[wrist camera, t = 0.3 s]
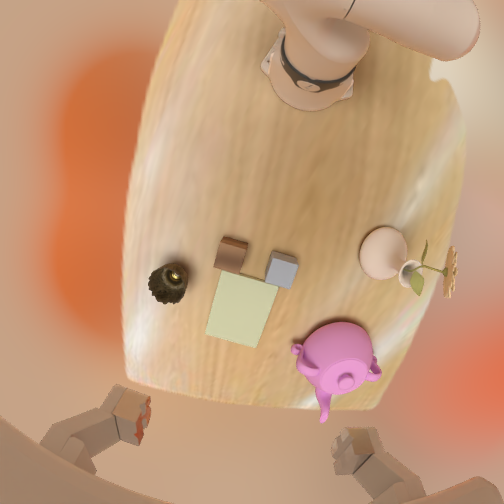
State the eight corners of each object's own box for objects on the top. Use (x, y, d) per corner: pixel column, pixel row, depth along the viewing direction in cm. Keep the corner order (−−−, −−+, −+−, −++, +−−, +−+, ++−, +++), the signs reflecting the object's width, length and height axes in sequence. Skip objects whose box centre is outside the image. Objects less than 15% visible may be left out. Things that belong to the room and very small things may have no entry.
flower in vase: (390, 283, 56) (449, 342, 32) (348, 268, 55) (398, 329, 31) (413, 229, 52) (488, 264, 28) (372, 210, 52) (442, 237, 28)
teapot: (274, 380, 64) (275, 420, 51) (300, 308, 58) (309, 343, 45) (351, 389, 65) (364, 425, 51) (385, 323, 59) (409, 355, 45)
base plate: (222, 268, 56) (221, 270, 55) (278, 284, 57) (279, 286, 56) (205, 331, 61) (204, 333, 60) (256, 345, 61) (256, 348, 60)
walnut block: (223, 236, 55) (220, 242, 50) (248, 243, 55) (246, 249, 50) (217, 259, 56) (213, 267, 51) (241, 266, 56) (239, 274, 51)
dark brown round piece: (163, 287, 58) (150, 303, 51) (160, 255, 56) (145, 267, 49) (195, 289, 58) (186, 306, 50) (193, 256, 56) (183, 269, 48)
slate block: (272, 250, 55) (273, 257, 50) (295, 257, 55) (298, 265, 51) (264, 273, 56) (264, 282, 52) (287, 279, 57) (289, 289, 52)
